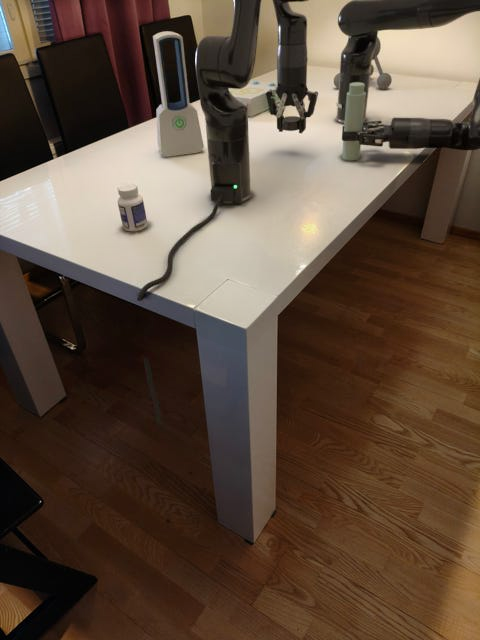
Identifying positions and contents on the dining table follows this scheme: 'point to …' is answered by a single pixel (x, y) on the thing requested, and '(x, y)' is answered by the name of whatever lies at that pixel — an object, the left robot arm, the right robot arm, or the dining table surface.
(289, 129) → the lid
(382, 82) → the molecular model
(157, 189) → the dining table surface
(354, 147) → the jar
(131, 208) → the pill bottle
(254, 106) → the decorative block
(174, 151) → the electronic device
